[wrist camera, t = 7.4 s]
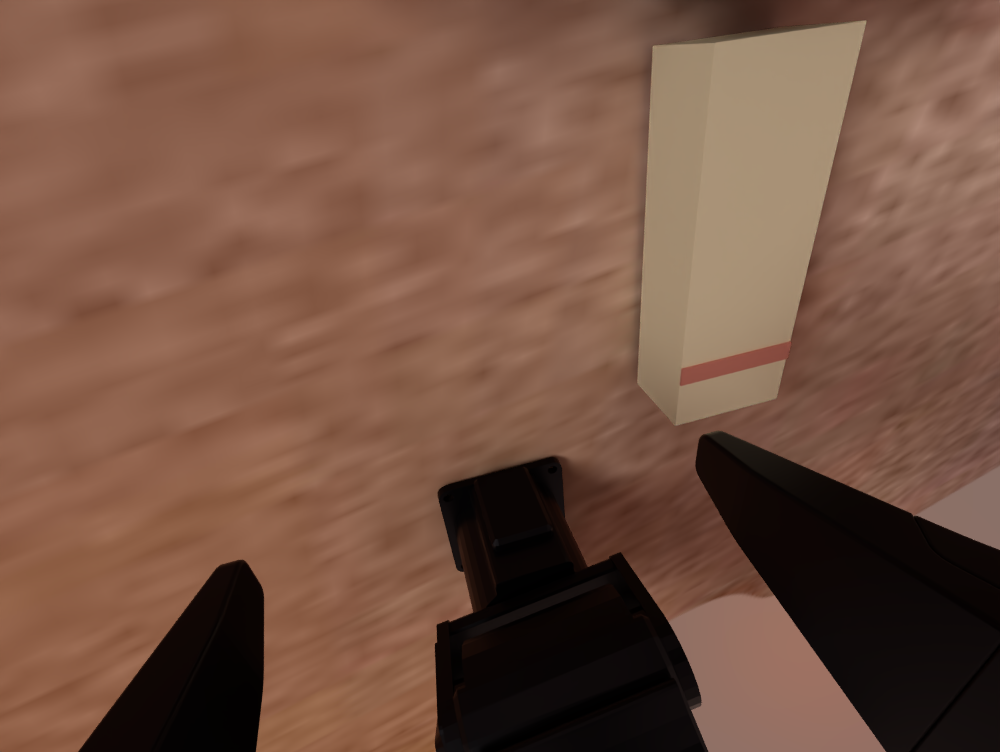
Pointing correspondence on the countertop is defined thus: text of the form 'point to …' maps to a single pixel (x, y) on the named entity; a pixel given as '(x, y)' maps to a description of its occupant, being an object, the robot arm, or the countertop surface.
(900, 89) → the countertop surface
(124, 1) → the countertop surface
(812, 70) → the cream striped pillar
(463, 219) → the countertop surface
